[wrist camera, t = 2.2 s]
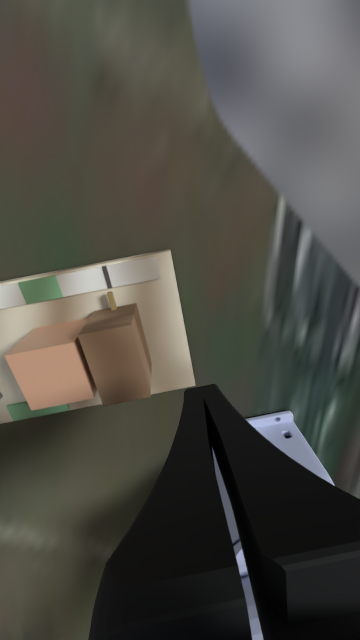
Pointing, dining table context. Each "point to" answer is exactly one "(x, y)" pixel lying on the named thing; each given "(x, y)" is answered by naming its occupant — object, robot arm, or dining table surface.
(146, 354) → the brown box with peg
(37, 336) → the peach matte cube
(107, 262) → the gauge board
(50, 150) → the dining table surface
